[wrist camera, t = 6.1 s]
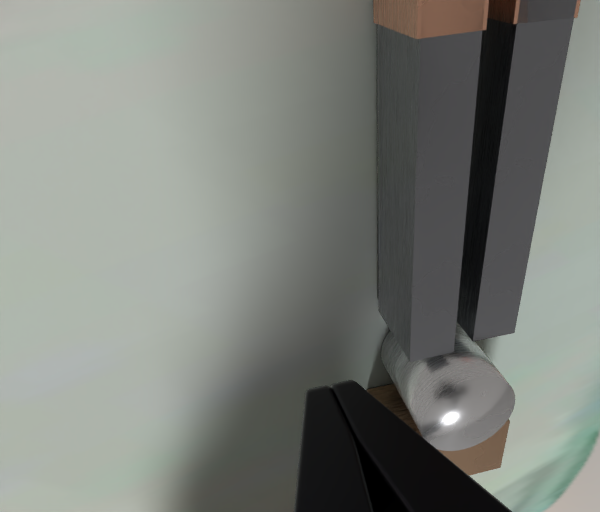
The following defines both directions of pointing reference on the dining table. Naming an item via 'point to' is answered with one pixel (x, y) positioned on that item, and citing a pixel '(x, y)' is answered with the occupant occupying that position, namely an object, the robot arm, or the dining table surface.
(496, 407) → the frame
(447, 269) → the bar
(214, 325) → the dining table surface
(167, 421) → the dining table surface
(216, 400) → the dining table surface
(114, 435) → the dining table surface
